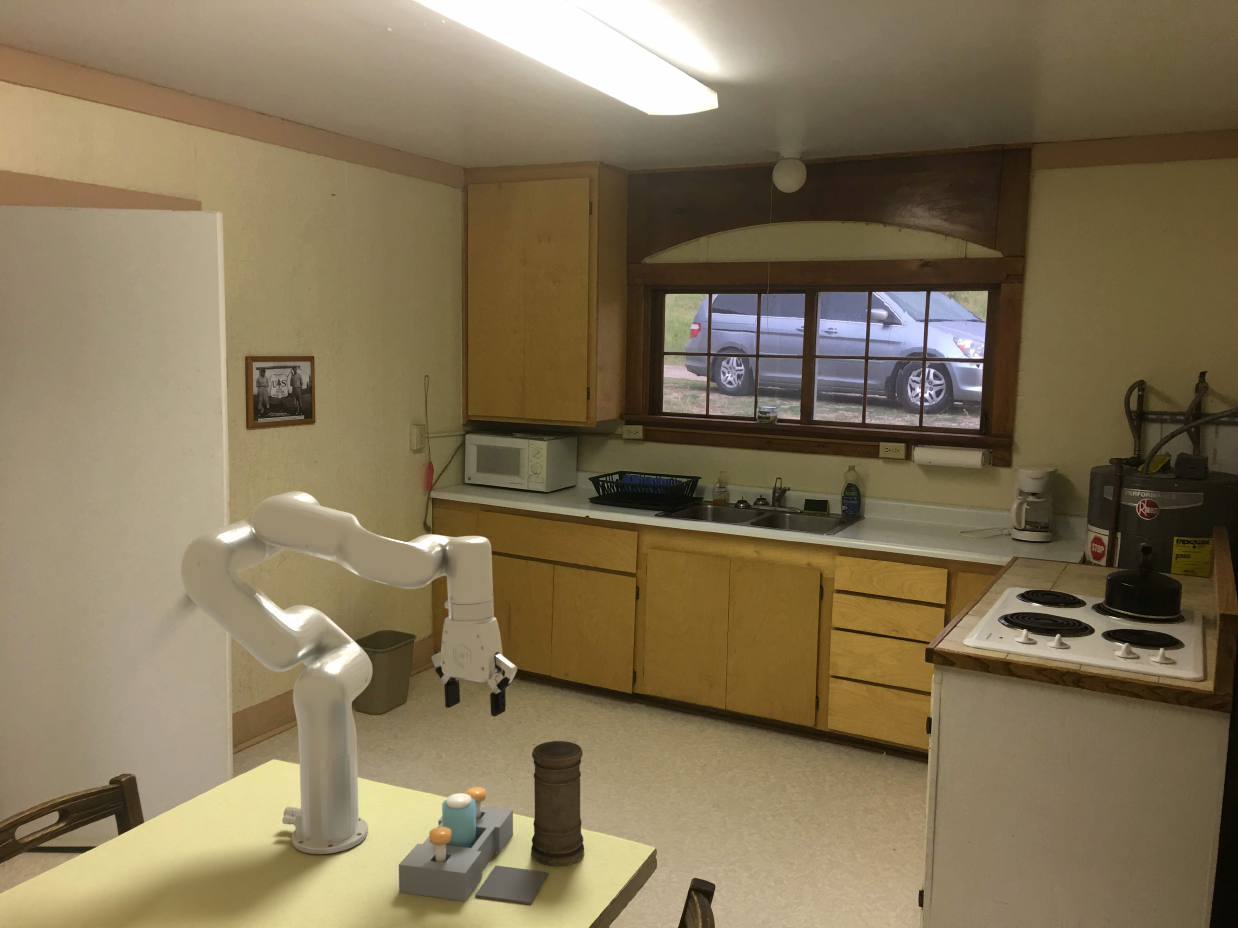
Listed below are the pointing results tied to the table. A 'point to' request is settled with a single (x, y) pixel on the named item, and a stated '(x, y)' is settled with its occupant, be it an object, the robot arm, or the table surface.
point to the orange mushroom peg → (477, 798)
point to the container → (557, 803)
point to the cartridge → (460, 819)
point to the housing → (456, 859)
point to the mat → (512, 885)
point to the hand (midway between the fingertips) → (475, 709)
